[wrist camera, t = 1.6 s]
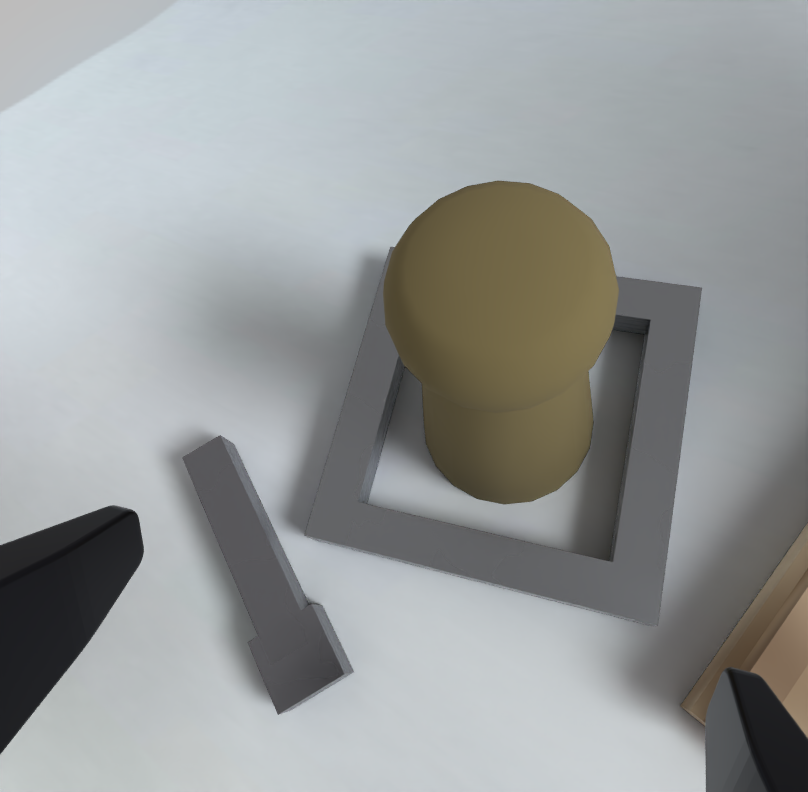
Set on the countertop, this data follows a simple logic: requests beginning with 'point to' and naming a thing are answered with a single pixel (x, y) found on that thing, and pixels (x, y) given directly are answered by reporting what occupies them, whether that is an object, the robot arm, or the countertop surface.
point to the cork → (503, 334)
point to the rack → (769, 640)
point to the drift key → (266, 582)
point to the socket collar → (510, 558)
